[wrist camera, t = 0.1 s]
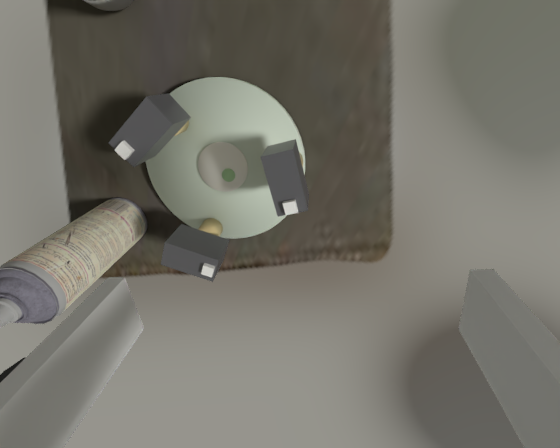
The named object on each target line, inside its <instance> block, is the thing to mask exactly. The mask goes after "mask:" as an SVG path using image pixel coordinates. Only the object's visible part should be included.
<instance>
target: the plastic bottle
mask: <svg viewBox="0 0 560 448" xmlns="http://www.w3.org/2000/svg"><path fill="white" fill-rule="evenodd" d="M83 1H85V2H87V3H88V4H90V5H92V6H94V7H96V8H98V9H101V10H105V11H118V10H123V9H125V8H127V7H128V6H129V5H130V4H132V2H133V1H134V0H83Z"/></svg>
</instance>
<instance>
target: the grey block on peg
mask: <svg viewBox="0 0 560 448" xmlns="http://www.w3.org/2000/svg"><path fill="white" fill-rule="evenodd" d="M261 161H262V164H263V168H264V171H265V175H266V178H267V182H268V185H269V189H270V192H271V196H272V199H273V202H274V206H275V209H276V213H277V216H283V215H289V214H294V213H299V212H304V211H308V200H309V192H308V188H307V184H306V180H305V175H304V171H303V157H302V155H301V153H300V152H299V150H298V146H297V142H296V139H294V140H290V141H286V142H282V143H278V144H274V145H270V146H267V148H266V149H265V151H264V152H263V154H262V155H261Z"/></svg>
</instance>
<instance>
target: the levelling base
mask: <svg viewBox="0 0 560 448" xmlns="http://www.w3.org/2000/svg"><path fill="white" fill-rule="evenodd" d="M170 95H171V96H172V97H173V98H174V100H175V101H176V102H177V103H178V104H179V105H180V106H181V107H182V108H183V109H184V110H185V111H186V112H187V113H188V115H189V116H190V117H191V118H190V119H189V126H188V128H187V130H186V131H185V132H183V133H181V134H179V135H176V136H174V137H173V138H172V139H171V140H170V141H169V142H168V143H167V144H166V145H165V146H164V147H163V149H162V150H161V151H160V152H159V153H158V154H157V155H156V156H154V157H153V158H151V159H149V160H147V161H145V162H146V166H147V171H148V174H149V177H150V180H151V182H152V184H153V187H154V189H155V191H156V192H157V194H158V196H159V197H160V199H161V200H162V201H163V203H164V204H165V205H166V207H167V208H168V209H169V210H170V211H171V212H172V213H173V214H174V215H175V216H177V217H178V218H179V219H180V220H181V221H183V222H184V223H186V224H187V225H189V226H190V227H192V228H195V229H199V227H200V226H201V225H202V223H203V222H204V221H205V220H206V219H208V218H214V219H216V220H218V221H219V222H220V223H221V224H222V226H223V231H222V234H221V235H220V237H222V238H245V237H250V236H254V235H257V234H260V233H263V232H265V231H267V230H269V229H271V228H272V227H274V226H275V225H277V224H278V223H279V222H280V221H281V220H283V219H284V218H285V217H286V216H287V215H283V216H277V213H276V209H275V206H274V202H273V199H272V196H271V192H270V189H269V185H268V182H267V178H266V175H265V171H264V168H263V164H262V161H261V155H262V154H263V152H264V151H265V149H266V148H267V146H270V145H274V144H278V143H282V142H286V141H290V140H294V139H296V142H297V146H298V150H299V152H300V153H301V155H302V157H303V171H304V175H305V152H304V146H303V142H302V138H301V136H300V133H299V131H298V128H297V126H296V124H295V123H294V121H293V119H292V117H291V116H290V115H289V113H288V112H287V110H286V109H285V108H284V107H283V106H282V105H281V104H280V103H279V102H278V101H277V100H276V99H275V98H274V97H273V96H271V95H270V94H269V93H268V92H266V91H264V90H263V89H261V88H260V87H258V86H256V85H253V84H251V83H249V82H246V81H243V80H239V79H236V78H228V77H209V78H203V79H197V80H194V81H191V82H188V83H186V84H184V85H182V86H180V87H178V88H177V89H175V90H174V91H172V92H171V93H170Z"/></svg>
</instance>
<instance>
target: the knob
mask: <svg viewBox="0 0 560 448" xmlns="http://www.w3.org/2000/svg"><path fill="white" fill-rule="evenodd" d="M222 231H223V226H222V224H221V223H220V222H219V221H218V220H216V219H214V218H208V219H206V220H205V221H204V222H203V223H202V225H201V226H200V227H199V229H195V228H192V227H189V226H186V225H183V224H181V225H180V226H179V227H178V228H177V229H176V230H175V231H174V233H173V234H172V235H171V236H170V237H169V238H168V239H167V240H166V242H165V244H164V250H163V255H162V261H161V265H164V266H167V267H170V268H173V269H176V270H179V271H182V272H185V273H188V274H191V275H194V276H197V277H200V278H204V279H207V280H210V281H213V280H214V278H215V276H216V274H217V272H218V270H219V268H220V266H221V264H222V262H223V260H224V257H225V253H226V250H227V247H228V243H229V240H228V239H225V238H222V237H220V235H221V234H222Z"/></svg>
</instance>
